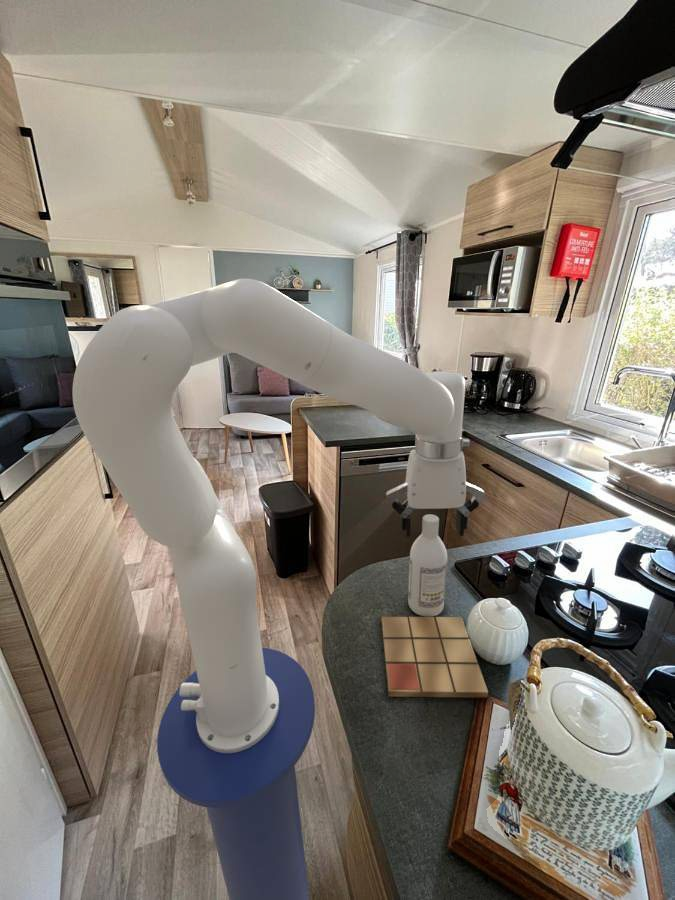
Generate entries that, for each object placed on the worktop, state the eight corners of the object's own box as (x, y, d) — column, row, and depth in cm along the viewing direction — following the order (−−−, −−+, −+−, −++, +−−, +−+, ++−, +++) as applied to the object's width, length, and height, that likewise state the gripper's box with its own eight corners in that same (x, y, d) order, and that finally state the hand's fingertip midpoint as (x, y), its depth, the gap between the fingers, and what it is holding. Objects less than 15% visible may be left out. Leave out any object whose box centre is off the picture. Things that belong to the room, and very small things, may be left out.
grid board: (388, 696, 58) (388, 690, 58) (381, 621, 72) (381, 616, 72) (487, 697, 58) (488, 691, 57) (461, 621, 72) (461, 616, 71)
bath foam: (450, 608, 75) (458, 519, 68) (426, 624, 71) (432, 532, 65) (424, 588, 81) (429, 505, 74) (400, 603, 77) (403, 516, 70)
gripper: (482, 437, 68) (474, 520, 74) (384, 440, 68) (384, 522, 75) (497, 452, 61) (487, 543, 67) (388, 455, 61) (388, 545, 68)
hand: (433, 532), depth 71 cm, fingers open, 9 cm apart
